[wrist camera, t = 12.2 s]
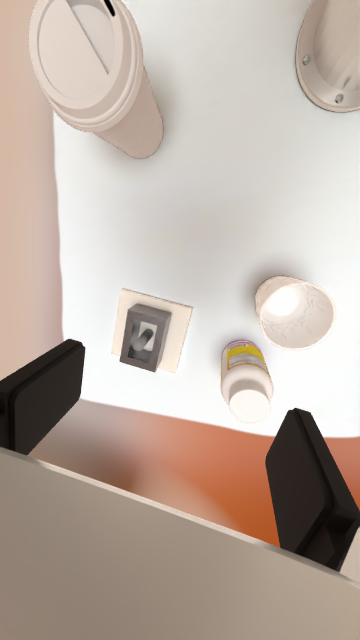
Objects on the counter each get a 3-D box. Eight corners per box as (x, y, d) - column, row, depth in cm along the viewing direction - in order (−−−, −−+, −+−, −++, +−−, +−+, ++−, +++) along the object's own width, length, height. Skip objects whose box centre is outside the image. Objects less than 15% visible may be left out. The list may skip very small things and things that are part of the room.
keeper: (123, 288, 40) (104, 296, 34) (192, 307, 39) (186, 320, 33) (113, 351, 44) (95, 368, 38) (176, 370, 43) (168, 391, 37)
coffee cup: (180, 162, 33) (145, 101, 19) (116, 178, 35) (42, 135, 21) (167, 75, 30) (116, -71, 16) (99, 99, 32) (1, -12, 18)
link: (137, 303, 39) (127, 309, 35) (172, 312, 38) (166, 320, 35) (128, 351, 42) (119, 361, 38) (161, 360, 42) (154, 372, 38)
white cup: (275, 333, 38) (292, 363, 28) (239, 298, 37) (244, 317, 28) (318, 297, 35) (352, 318, 25) (280, 260, 34) (301, 266, 25)
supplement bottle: (247, 381, 41) (256, 440, 29) (214, 362, 41) (209, 412, 29) (271, 352, 39) (291, 402, 27) (235, 331, 39) (240, 372, 27)
